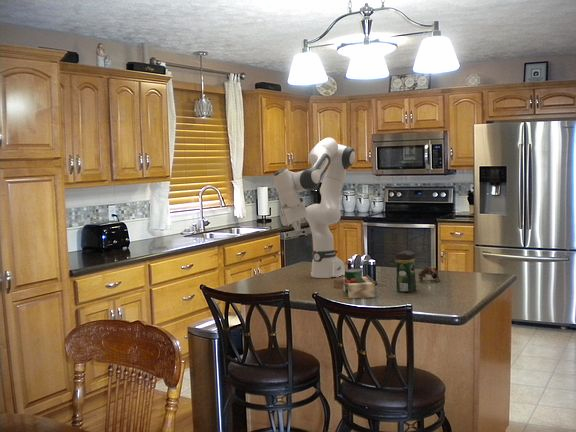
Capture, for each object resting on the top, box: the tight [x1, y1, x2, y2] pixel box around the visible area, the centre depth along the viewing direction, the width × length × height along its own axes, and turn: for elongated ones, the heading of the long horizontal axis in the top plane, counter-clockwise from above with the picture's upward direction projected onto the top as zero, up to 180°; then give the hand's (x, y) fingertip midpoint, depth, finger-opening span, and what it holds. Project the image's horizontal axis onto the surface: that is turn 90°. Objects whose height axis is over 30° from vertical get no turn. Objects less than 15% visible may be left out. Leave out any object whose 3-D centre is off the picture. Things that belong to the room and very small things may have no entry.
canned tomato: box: [344, 268, 363, 296], centre depth 283 cm, size 8×8×11 cm
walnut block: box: [333, 277, 344, 289], centre depth 301 cm, size 5×5×4 cm
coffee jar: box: [394, 250, 417, 293], centre depth 285 cm, size 10×8×19 cm
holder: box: [343, 274, 376, 299], centre depth 283 cm, size 12×19×7 cm, turn 3°
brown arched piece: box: [417, 266, 441, 283], centre depth 307 cm, size 12×10×8 cm
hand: (298, 230), depth 295 cm, fingers closed
